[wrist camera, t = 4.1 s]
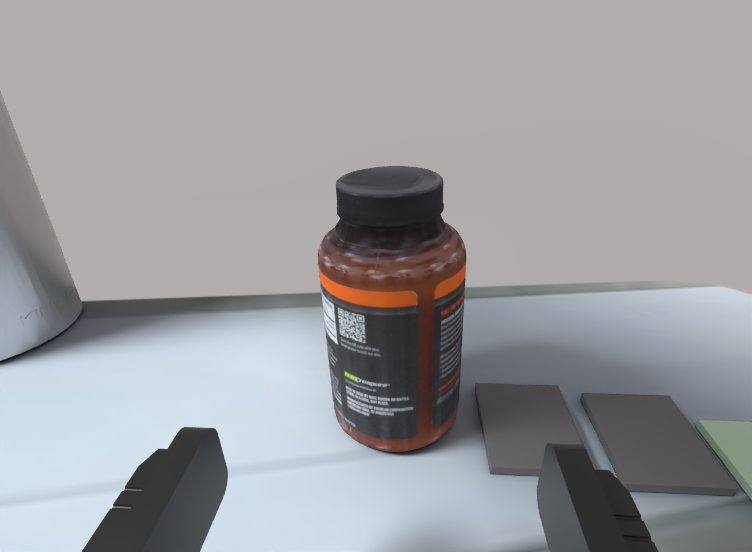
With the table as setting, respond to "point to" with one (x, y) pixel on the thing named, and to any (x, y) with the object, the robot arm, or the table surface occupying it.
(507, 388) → the track
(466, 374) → the table surface
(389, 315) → the supplement bottle
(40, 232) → the robot arm
